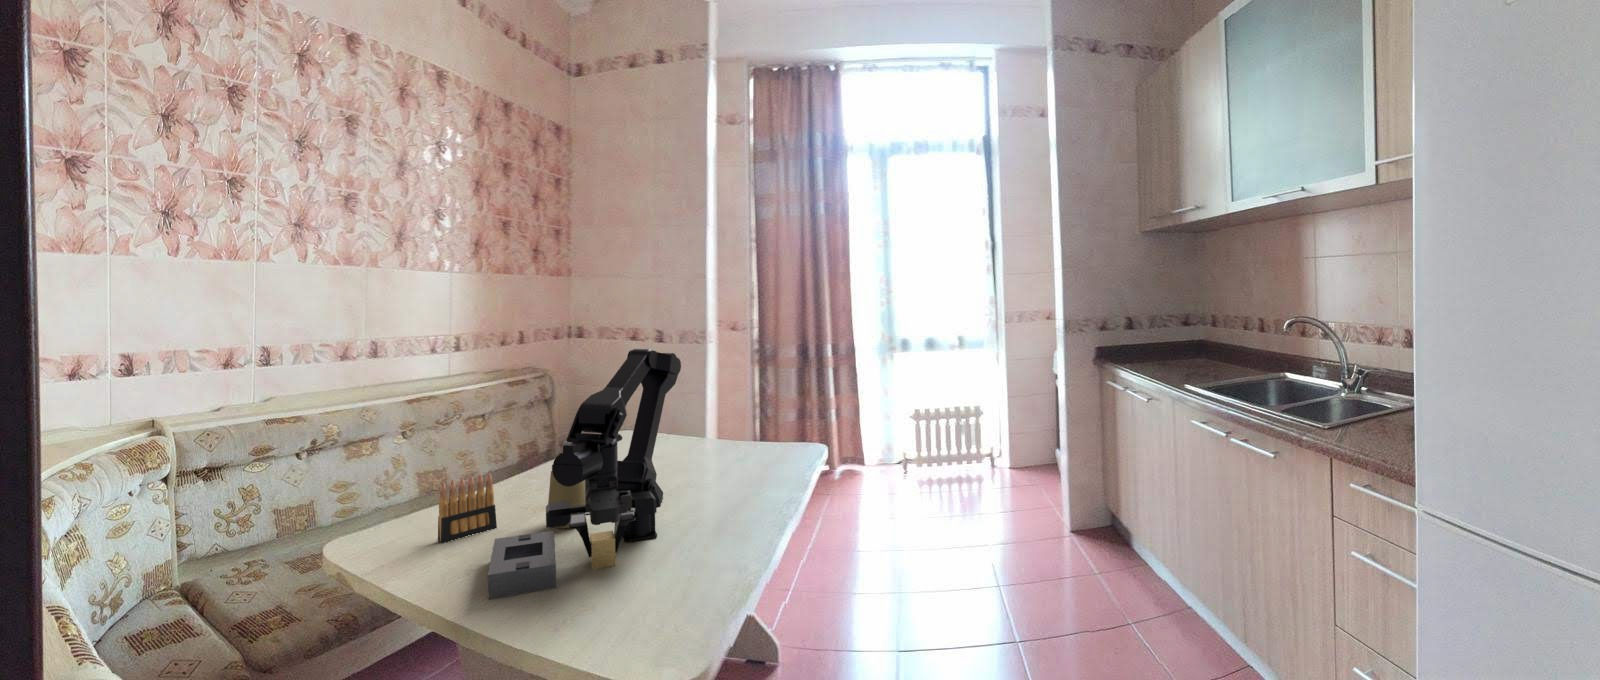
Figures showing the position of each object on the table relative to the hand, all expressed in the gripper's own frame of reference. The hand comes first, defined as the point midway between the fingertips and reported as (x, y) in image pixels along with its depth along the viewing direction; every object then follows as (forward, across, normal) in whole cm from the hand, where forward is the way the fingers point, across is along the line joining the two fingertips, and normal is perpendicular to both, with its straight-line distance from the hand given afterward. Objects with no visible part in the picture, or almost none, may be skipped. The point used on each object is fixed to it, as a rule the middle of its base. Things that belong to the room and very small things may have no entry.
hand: (602, 554), depth 108 cm
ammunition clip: (+2, -24, +25) cm, 35 cm away
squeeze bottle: (+2, -5, +23) cm, 24 cm away
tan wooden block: (+2, 0, 0) cm, 2 cm away
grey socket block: (+2, -13, +1) cm, 13 cm away
